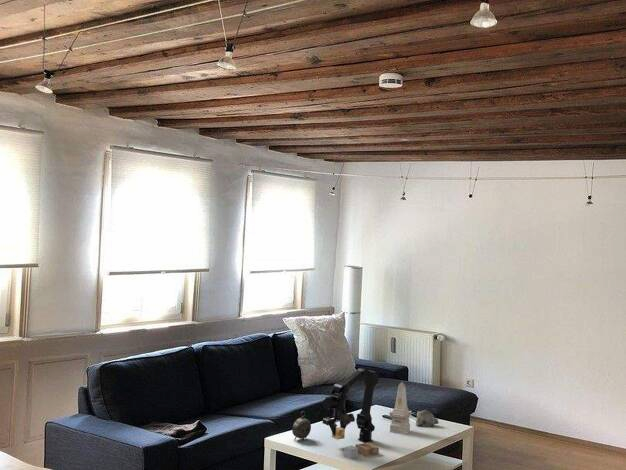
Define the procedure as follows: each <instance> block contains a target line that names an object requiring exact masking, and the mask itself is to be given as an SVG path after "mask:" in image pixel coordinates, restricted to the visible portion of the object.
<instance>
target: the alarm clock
mask: <svg viewBox="0 0 626 470" xmlns="http://www.w3.org/2000/svg"><path fill="white" fill-rule="evenodd" d="M303 412H304V415H302V413H303ZM305 416H306V411H305V410H303V411H301V412H300V417H299V418H297V419H296V420H295V421H294V423H293V424H292V428H291V431H292V432H291V433H292V434H293V436H294V437H295V438H294V441H293V442H295V441H296V439H300V440H302V441H305V439H307V437H308V436H309V435H310V432H311V430H312V425H311V422H310V421H309V419H307V418H305Z"/></svg>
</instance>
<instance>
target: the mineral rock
mask: <svg viewBox="0 0 626 470" xmlns="http://www.w3.org/2000/svg"><path fill="white" fill-rule="evenodd" d="M439 423H440V422H439V418H436V417H435V416H434V414H433V413H432V412H430V411H428V410H426V409H423V410H421V411H420V410H418V411H417V412H416V420H415V426H418V427H429V426H430V427H431V426H434V425H438V424H439Z"/></svg>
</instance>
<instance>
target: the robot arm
mask: <svg viewBox="0 0 626 470" xmlns="http://www.w3.org/2000/svg"><path fill="white" fill-rule="evenodd" d="M362 378H363V382H364V386H365V388H364V393H363V399H362V405H361V410H360V412H359V413H357V414H356V418H355V416H354V413H347V409H346V408H345V407H346V406H345V405H346V399H348V398H349V397H348V396H347V394H348V393H349V392H350V389H351V387H352V386H354V385H355V384H356V383H358V382H359V381H360V380H361V379H362ZM379 378H380V374H379V373H378V371H374V370H370V369H366V368H361V367H359V368H358V369H357V370H356V371H355V372H353V373H352V374H351V375H349V376H348V377H346V378H345V379H344V380H341V381H338V382H335V384H334V385H333V387H332V389H331V391H330V393H329V396H325V398H323V401H322V407H323V409H324V410H327V411H329V410H332V411H333V415H332V416H331V417H332V418H331V417H329V416H328V417H323V419H322V424H324V425H325V426H328V427H329V428H330V431H331V434H332V433H333V436H335V434H336V427H338V424H337V423H338V422H339V425H340V426H339V427H340V428H343V429H345V430H346V428H347V426H348V425H350V424H351V423H354V422H356V425H357V429H359V434H358V435H359V437H358V438H357V440H358V441H360V442H362V443H371V442H373V441H374V439H372V434H373V433H372V432H374V431H375V427H376V426H375V425H374V423H372V421H373V420H372V419H373V417H372V415H371V408H372V404H373V396H374V390H375V388H376V385H377V384H378V383H379Z"/></svg>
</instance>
